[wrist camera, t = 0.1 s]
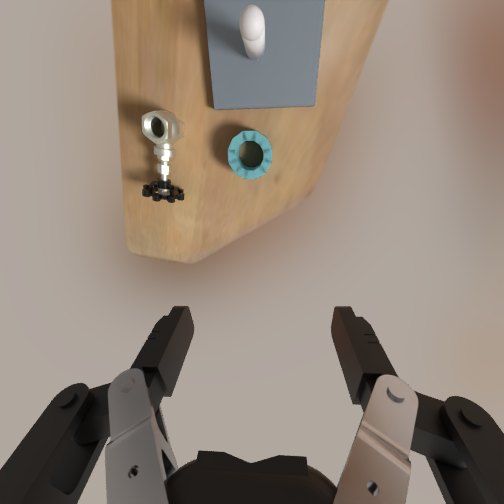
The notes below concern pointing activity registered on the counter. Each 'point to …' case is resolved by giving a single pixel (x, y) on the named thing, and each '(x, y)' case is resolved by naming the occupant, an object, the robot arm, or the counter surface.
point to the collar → (236, 162)
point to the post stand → (264, 52)
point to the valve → (163, 152)
